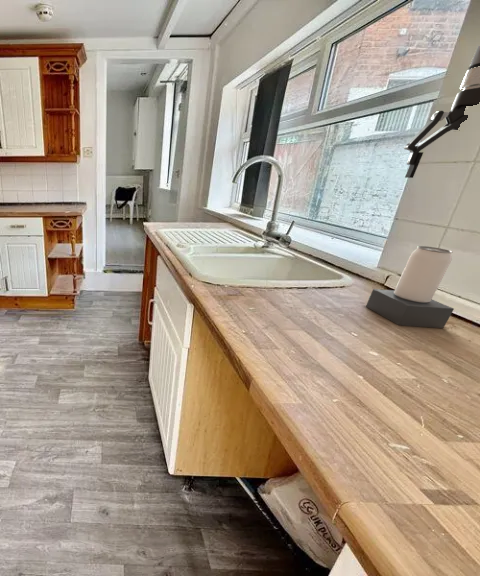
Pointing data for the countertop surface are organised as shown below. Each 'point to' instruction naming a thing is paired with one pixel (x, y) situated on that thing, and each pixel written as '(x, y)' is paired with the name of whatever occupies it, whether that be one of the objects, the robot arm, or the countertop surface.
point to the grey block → (408, 310)
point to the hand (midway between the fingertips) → (440, 179)
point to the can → (423, 274)
